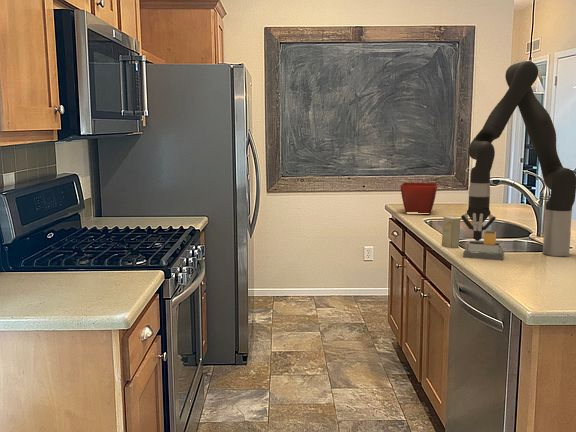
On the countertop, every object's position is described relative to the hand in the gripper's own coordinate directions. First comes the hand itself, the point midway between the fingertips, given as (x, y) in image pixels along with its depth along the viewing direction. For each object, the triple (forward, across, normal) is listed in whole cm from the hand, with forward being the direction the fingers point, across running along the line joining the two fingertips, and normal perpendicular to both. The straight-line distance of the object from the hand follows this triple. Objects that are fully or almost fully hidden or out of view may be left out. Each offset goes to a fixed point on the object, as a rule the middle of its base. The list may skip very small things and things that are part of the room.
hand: (477, 240), depth 228 cm
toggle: (+4, -4, 0) cm, 6 cm away
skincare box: (+6, +12, -15) cm, 20 cm away
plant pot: (+6, +43, -106) cm, 115 cm away
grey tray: (+6, -3, 0) cm, 6 cm away
